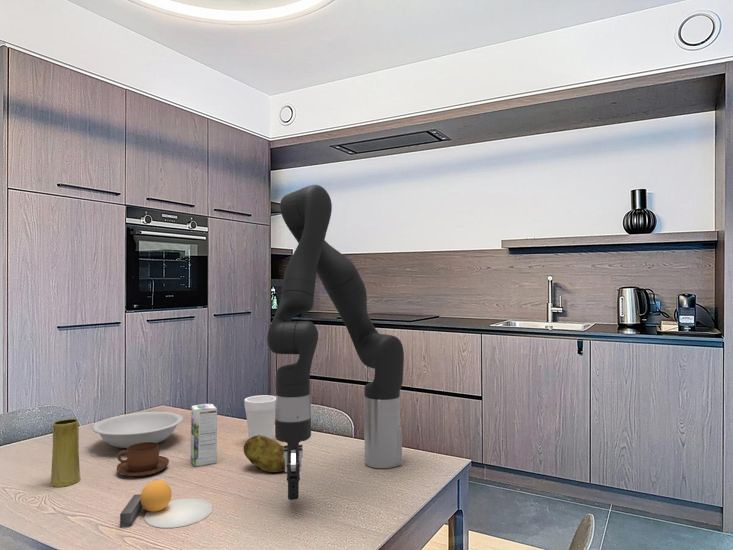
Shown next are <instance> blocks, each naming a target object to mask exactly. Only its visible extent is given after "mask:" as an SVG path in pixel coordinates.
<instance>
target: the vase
mask: <svg viewBox="0 0 733 550" xmlns="http://www.w3.org/2000/svg"><path fill="white" fill-rule="evenodd" d="M79 423H80V422H79V419H77V418H65V419H64V418H63V419H59V420H56V421H55V420H54V421H53V422H52V449H51V451H52V453H51V474H50V475H51V476H50V482H49V484H50V485H51V487H54V488H55V487H56V488H63V487H69V486H72V485H74V484H77V483H79V482H80V480H81V472H80V471H81V470H80V467H81V466H80V454H79V453H80V452H79V449H80V446H79V445H80V443H79V440H80V439H79V438H80V437H79V435H80V433H79V432H80V430H79V429H80V428H79V427H80V424H79Z"/></svg>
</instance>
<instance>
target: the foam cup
mask: <svg viewBox="0 0 733 550" xmlns="http://www.w3.org/2000/svg"><path fill="white" fill-rule="evenodd" d="M275 402H276V395H267V394H266V395H252V396H249V397H246V398H244V410H245V416H246V423H247V425H246V426H247V431H248V439H250V438H251V437H253V436H258V435H260V436H266V437H268V438H270V439H272V440H274V434H275Z"/></svg>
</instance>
